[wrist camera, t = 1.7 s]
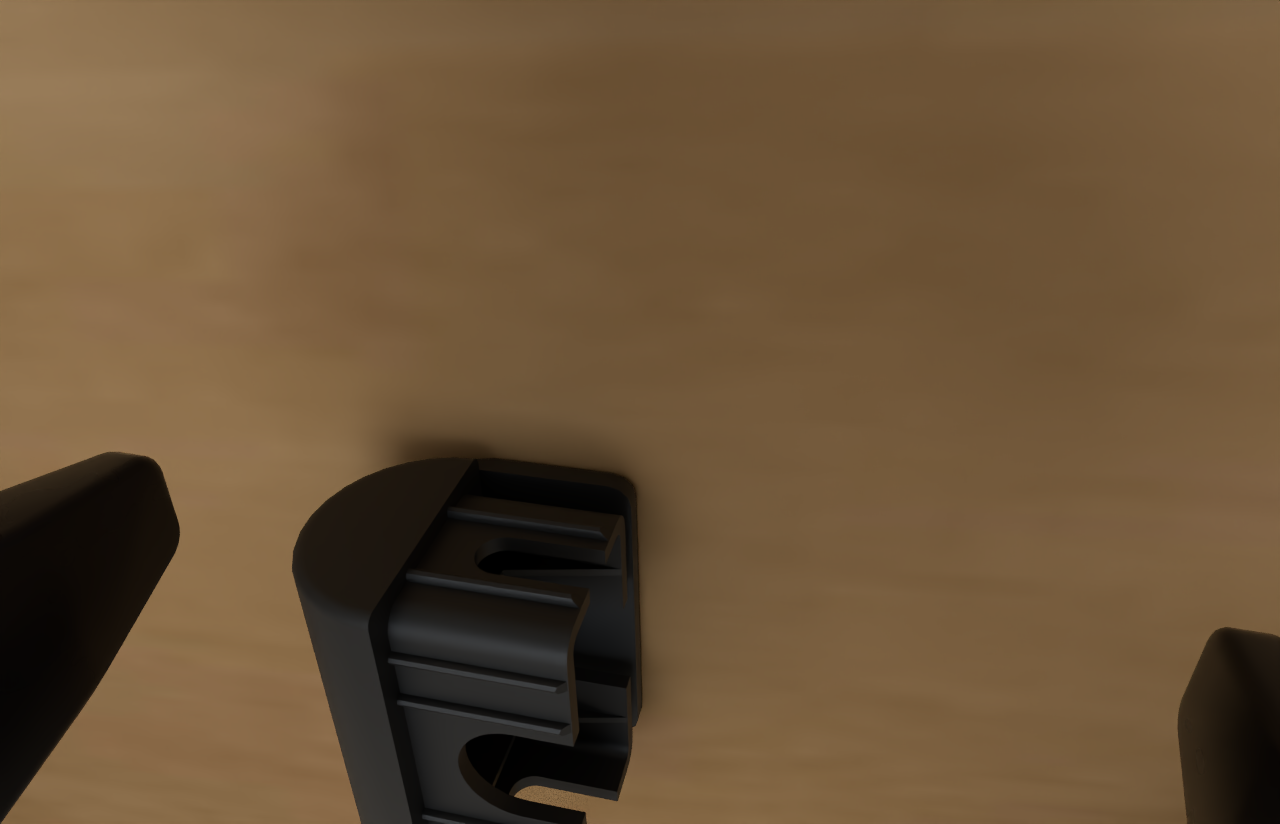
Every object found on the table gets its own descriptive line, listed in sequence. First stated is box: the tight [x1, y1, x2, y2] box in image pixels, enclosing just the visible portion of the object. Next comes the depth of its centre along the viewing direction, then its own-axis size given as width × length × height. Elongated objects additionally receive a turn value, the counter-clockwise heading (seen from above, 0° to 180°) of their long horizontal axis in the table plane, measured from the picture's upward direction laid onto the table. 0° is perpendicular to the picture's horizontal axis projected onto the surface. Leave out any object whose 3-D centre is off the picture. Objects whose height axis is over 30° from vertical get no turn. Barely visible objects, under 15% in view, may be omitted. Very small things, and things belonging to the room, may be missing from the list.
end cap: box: [292, 458, 642, 824], centre depth 25 cm, size 10×7×7 cm
